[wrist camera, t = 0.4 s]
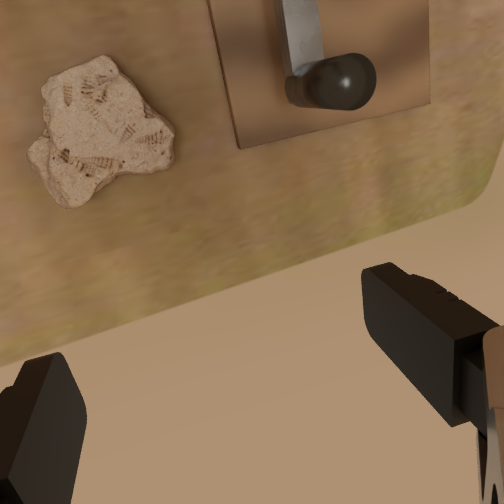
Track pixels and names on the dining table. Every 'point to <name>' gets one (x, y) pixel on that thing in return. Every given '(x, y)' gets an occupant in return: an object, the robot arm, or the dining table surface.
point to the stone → (96, 132)
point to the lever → (319, 63)
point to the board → (334, 44)
